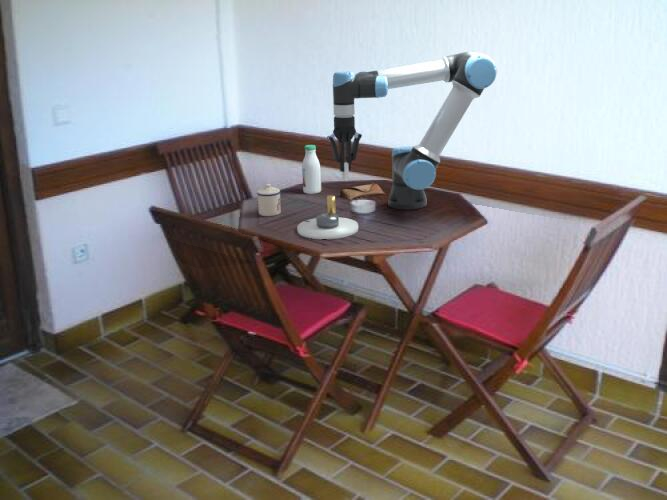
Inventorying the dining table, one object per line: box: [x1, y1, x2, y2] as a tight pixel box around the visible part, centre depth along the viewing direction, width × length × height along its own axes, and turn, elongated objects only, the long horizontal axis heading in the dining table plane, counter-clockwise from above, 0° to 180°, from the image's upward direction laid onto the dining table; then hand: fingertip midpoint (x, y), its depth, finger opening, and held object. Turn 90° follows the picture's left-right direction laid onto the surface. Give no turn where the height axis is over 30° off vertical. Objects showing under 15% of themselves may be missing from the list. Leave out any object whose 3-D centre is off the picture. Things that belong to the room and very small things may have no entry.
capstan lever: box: [315, 194, 339, 228], centre depth 282 cm, size 14×8×8 cm, turn 170°
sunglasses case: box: [339, 182, 386, 201], centre depth 325 cm, size 18×7×7 cm, turn 117°
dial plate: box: [296, 216, 359, 240], centre depth 281 cm, size 22×22×2 cm
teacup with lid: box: [256, 183, 282, 217], centre depth 304 cm, size 12×9×12 cm
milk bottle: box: [301, 144, 322, 195], centre depth 329 cm, size 8×8×20 cm
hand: (345, 179), depth 287 cm, fingers closed
